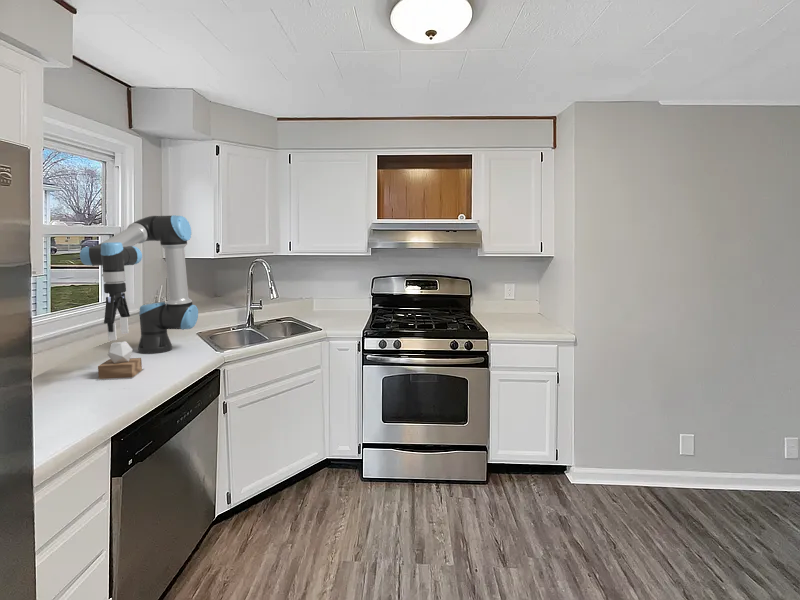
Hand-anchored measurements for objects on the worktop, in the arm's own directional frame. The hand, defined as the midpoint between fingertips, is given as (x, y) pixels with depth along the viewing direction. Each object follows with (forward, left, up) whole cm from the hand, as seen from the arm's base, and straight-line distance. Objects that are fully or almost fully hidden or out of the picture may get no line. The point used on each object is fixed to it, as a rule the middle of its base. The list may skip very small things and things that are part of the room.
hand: (118, 336), depth 214 cm
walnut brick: (0, 0, -15) cm, 15 cm away
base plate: (0, 0, -16) cm, 16 cm away
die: (0, 0, -10) cm, 10 cm away
